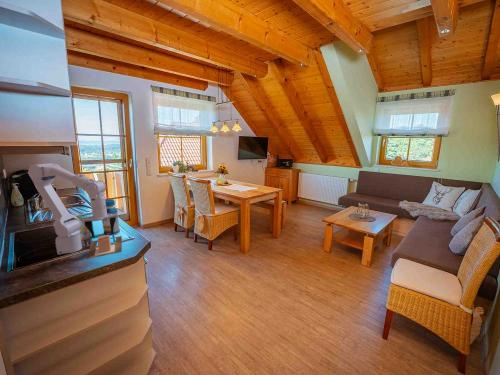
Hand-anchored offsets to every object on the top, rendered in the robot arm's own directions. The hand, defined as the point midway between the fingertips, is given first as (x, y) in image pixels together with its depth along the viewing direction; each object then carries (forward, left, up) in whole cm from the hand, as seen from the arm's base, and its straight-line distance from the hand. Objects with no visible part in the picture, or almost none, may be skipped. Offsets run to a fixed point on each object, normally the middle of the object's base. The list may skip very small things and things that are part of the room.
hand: (102, 234), depth 114 cm
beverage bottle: (+2, +26, -9) cm, 28 cm away
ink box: (-12, +23, -9) cm, 28 cm away
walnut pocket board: (0, +5, -9) cm, 10 cm away
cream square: (0, 0, -8) cm, 8 cm away
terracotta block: (0, 0, -8) cm, 8 cm away
